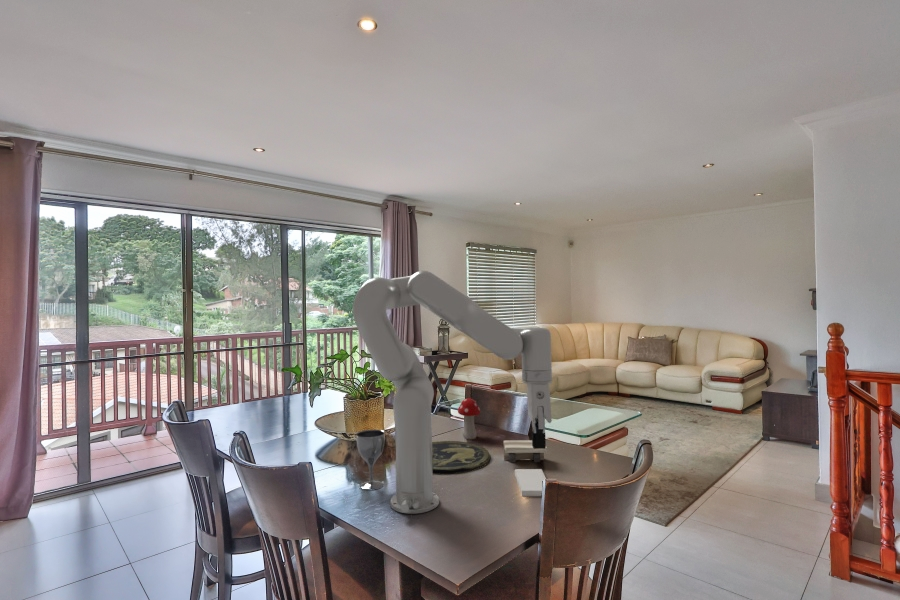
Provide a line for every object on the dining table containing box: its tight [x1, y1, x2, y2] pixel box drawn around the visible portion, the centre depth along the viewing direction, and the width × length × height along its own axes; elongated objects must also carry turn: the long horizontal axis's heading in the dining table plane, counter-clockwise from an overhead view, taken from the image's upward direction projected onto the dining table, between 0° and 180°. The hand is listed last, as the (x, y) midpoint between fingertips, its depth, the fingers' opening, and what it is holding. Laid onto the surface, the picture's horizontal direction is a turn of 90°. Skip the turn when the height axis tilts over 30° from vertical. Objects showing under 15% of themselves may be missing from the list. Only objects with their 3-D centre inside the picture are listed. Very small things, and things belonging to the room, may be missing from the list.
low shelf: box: [503, 439, 548, 463], centre depth 150 cm, size 8×13×6 cm, turn 87°
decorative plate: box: [432, 440, 491, 475], centre depth 156 cm, size 30×2×30 cm
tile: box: [514, 468, 547, 497], centre depth 132 cm, size 16×8×2 cm, turn 179°
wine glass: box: [356, 429, 386, 490], centre depth 133 cm, size 8×8×15 cm
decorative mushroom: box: [457, 397, 481, 440], centre depth 180 cm, size 10×9×15 cm
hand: (538, 447), depth 119 cm, fingers closed
